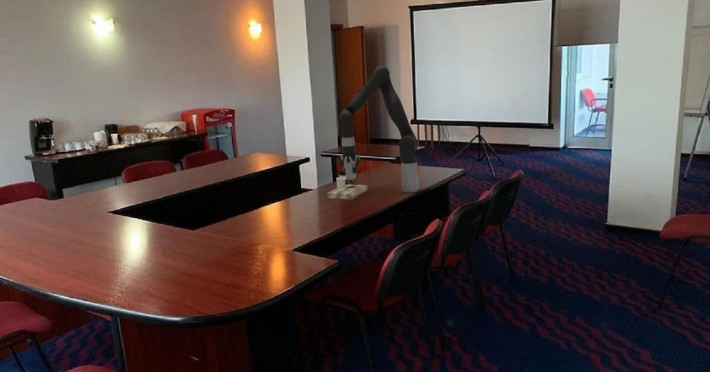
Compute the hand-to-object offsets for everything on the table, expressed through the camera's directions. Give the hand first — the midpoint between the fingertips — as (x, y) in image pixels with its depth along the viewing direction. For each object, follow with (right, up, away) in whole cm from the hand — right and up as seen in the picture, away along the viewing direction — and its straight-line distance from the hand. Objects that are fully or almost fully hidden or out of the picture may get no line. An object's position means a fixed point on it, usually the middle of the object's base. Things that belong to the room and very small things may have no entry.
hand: (350, 173), depth 334 cm
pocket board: (-2, -13, -2) cm, 14 cm away
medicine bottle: (-4, -9, +17) cm, 20 cm away
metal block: (0, -3, +1) cm, 3 cm away
